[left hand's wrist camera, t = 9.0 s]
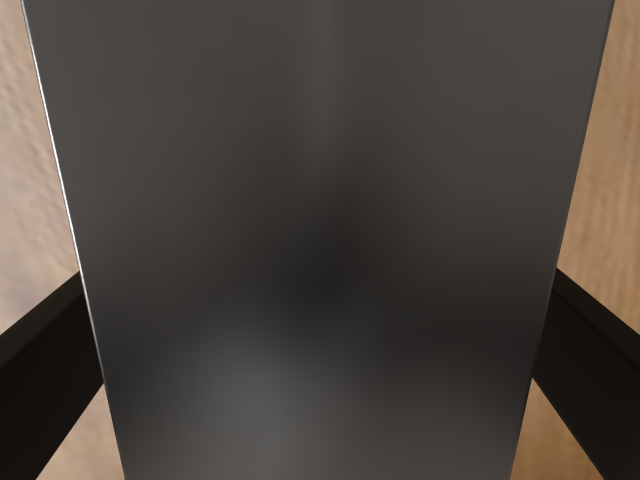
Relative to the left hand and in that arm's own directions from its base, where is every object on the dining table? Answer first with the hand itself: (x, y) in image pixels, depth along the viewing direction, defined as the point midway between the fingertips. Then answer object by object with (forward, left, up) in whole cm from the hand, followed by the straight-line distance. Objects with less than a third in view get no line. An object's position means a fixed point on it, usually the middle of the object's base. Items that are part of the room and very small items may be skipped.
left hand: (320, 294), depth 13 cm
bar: (+7, 0, -2) cm, 8 cm away
